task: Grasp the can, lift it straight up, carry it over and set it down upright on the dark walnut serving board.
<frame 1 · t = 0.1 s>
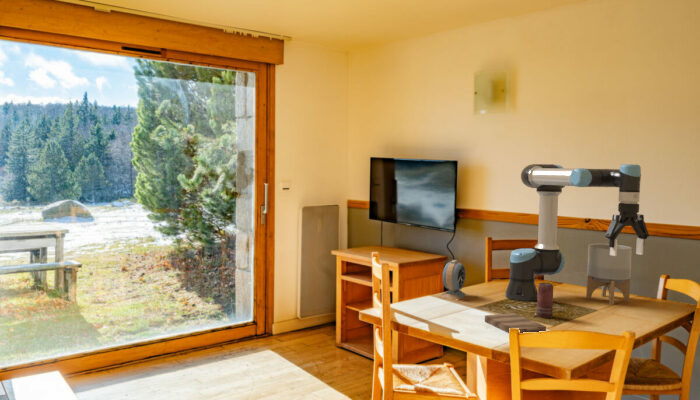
hand: (626, 255, 221), 28 cm above the table, fingers open, 13 cm apart
can: (544, 316, 231), on the table
planter: (607, 300, 263), on the table
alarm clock: (453, 296, 266), on the table
board: (514, 327, 215), on the table
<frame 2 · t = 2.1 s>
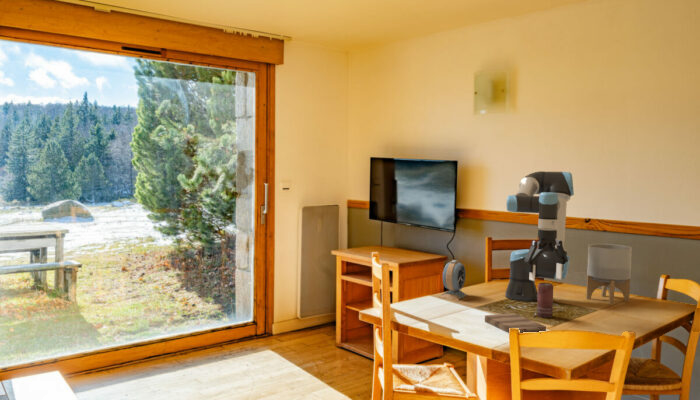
hand: (545, 279, 230), 16 cm above the table, fingers open, 13 cm apart
nothing on the table moved.
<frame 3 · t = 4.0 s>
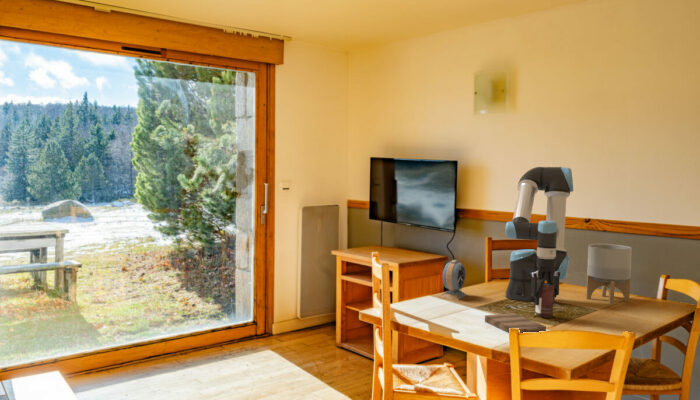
hand: (544, 312, 231), 2 cm above the table, fingers open, 5 cm apart
can: (544, 316, 231), on the table, touching gripper
everything else where it was.
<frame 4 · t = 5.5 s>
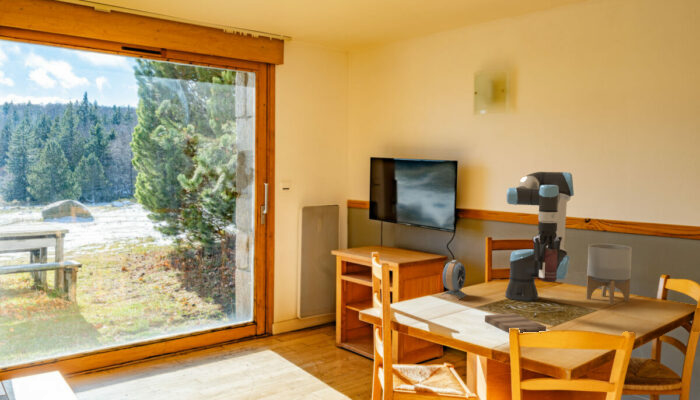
hand: (545, 276, 230), 17 cm above the table
can: (548, 281, 231), point 15 cm above the table, touching gripper, hand
everything else where it was.
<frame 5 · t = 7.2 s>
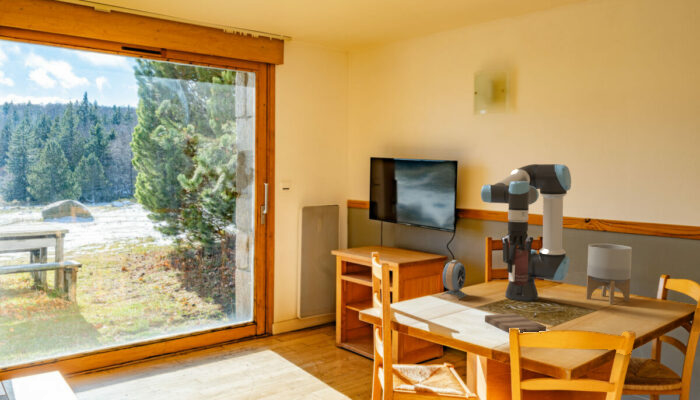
hand: (515, 280, 214), 18 cm above the table
can: (518, 285, 214), point 17 cm above the table, touching gripper, hand
everything else where it was.
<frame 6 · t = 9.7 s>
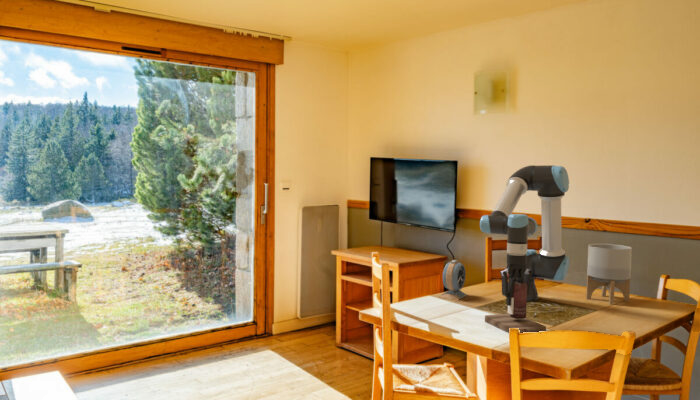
hand: (514, 313, 214), 6 cm above the table
can: (517, 317, 215), point 4 cm above the table, touching gripper, hand
everything else where it was.
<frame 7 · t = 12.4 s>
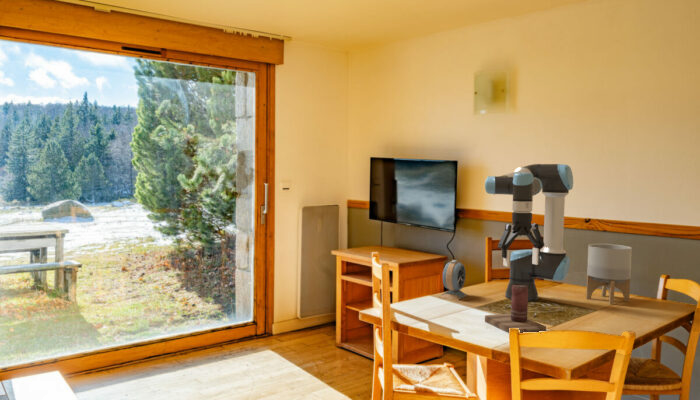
hand: (520, 265, 217), 24 cm above the table, fingers open, 13 cm apart
can: (518, 320, 215), point 2 cm above the table, touching board
everything else where it was.
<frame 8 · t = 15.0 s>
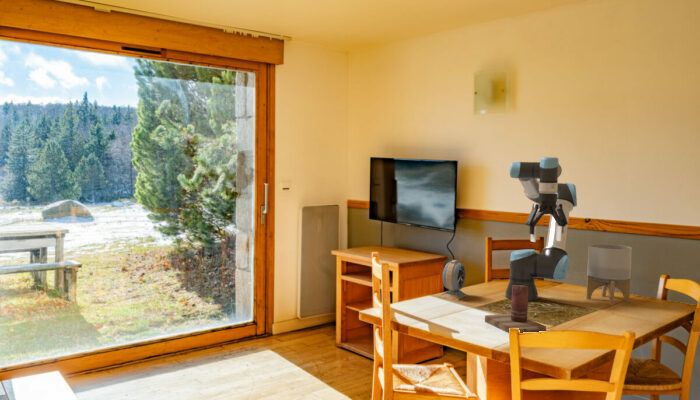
hand: (546, 241, 239), 31 cm above the table, fingers open, 13 cm apart
nothing on the table moved.
at the end: can inside the target area on the board (1.9 cm from its centre), point 2.3 cm above the board's base; can touching board; can tilted 0° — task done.
